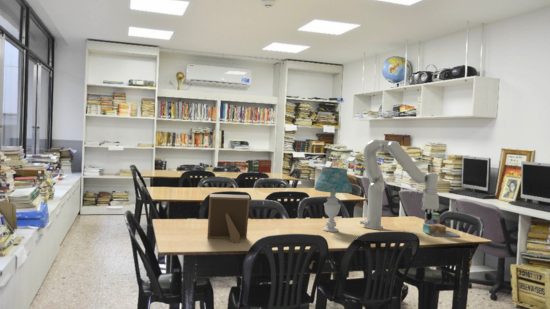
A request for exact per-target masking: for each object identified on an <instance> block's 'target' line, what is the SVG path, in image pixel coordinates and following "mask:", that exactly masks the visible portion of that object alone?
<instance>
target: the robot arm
mask: <svg viewBox="0 0 550 309" xmlns="http://www.w3.org/2000/svg"><path fill="white" fill-rule="evenodd" d="M377 153H385V154H390V155H391V156H392V158H394V160H395V161H396V162H397V163H398V165H400V167H401V168H402V169H403V170H404V172H406V173H407V175H408V176H409V177H410V178H411V179H412V180H413V182H414V183H416V184H423V183H425V184H424V189H422V192H423V194H422V197H421V198H422V199H421V210H422V211H424V213H425V212H426V213H427V216H426V218H427V219H428V220H431V218H432V214H433V213H435V212H437V211H439V208H440V197H439V194H438V183H439V182H438V181H439V175H438V173H437V172H426V171H422V170H421V169H420V168H418V166H417V165H416V163H415V162H414V161H413V158H412V157H411V156H410V155H409V154H408V152H407V151H405V149H404V148H403V147H402V146H401V145H400V143H399V142H398V141H395V140H385V139H378V138H377V139H375V138H374V139H372V140H370V141H369V142H368V143H367V144H366V145H365V146H364V149H363V158H364V159H363V160H364V166H365V167H364V168H365V172H366V173H365V174H366V176H367V178H368V179H369V180H368V181H369V186H368V190H367V194H368V195H367V212H366V213H367V214H366V216H367V217H366V219H365V220H364V221H363V220H359V224H360V225H363V227H364V228H366V229H371V230H382V229H384V226H383V225H382V215H383V214H382V213H383V195H384V193H383V192H384V191H385V182H384V175H383V171H382V169H381V167H380V166H379V163H378V158H377Z"/></svg>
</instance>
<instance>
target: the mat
mask: <svg viewBox="0 0 550 309" xmlns="http://www.w3.org/2000/svg"><path fill="white" fill-rule="evenodd" d="M422 232H424V231H423V230H422ZM424 233H425V234H427V235H429V236H431V237H433V238H434V237H437V238H439V237H440V238H461V235H459V234H457V233H455V232H453V231H450V230H446V234H428V233H426V232H424Z"/></svg>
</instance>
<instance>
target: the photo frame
mask: <svg viewBox="0 0 550 309" xmlns="http://www.w3.org/2000/svg"><path fill="white" fill-rule="evenodd" d="M250 197H251V196H250V195H249V194H226V193H225V194H223V193H209V198H208V199H209V201H208V204H209V205H208V218H207V220H208V221H207V239H226V240H227V239H230V242H232V243H236V244H240V240H247V237H248V236H247V235H248V225H249V213H250V212H249V210H250V201H251V200H250V199H251V198H250Z"/></svg>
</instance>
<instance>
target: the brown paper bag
mask: <svg viewBox="0 0 550 309" xmlns="http://www.w3.org/2000/svg"><path fill="white" fill-rule="evenodd" d="M422 225H423V226H422V232H423V231H424V233H425V232H426V233H425V234H427V233H428V234H427V235H429V234H446V231H447V226H446V225H443V224H441V223H440V224H424V223H423V224H422Z"/></svg>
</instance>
